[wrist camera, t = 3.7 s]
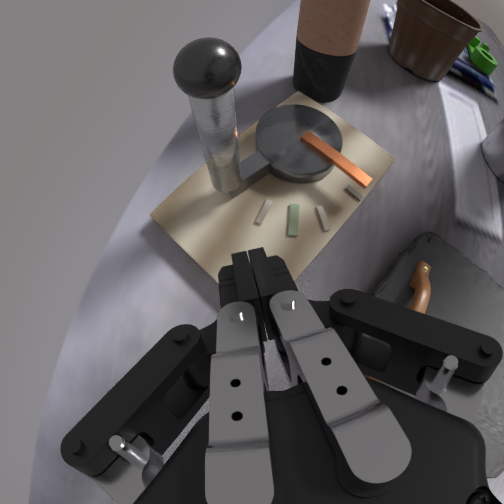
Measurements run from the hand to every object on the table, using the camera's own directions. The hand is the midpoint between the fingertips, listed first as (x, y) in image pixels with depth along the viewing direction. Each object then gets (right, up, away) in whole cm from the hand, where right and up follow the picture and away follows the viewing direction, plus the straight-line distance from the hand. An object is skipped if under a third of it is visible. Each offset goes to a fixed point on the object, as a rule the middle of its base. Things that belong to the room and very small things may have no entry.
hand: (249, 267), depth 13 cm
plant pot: (+32, +37, +26) cm, 55 cm away
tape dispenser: (+61, +52, +30) cm, 85 cm away
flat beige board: (+3, +8, +17) cm, 19 cm away
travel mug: (+9, +24, +22) cm, 34 cm away
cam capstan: (+4, +8, +15) cm, 18 cm away
